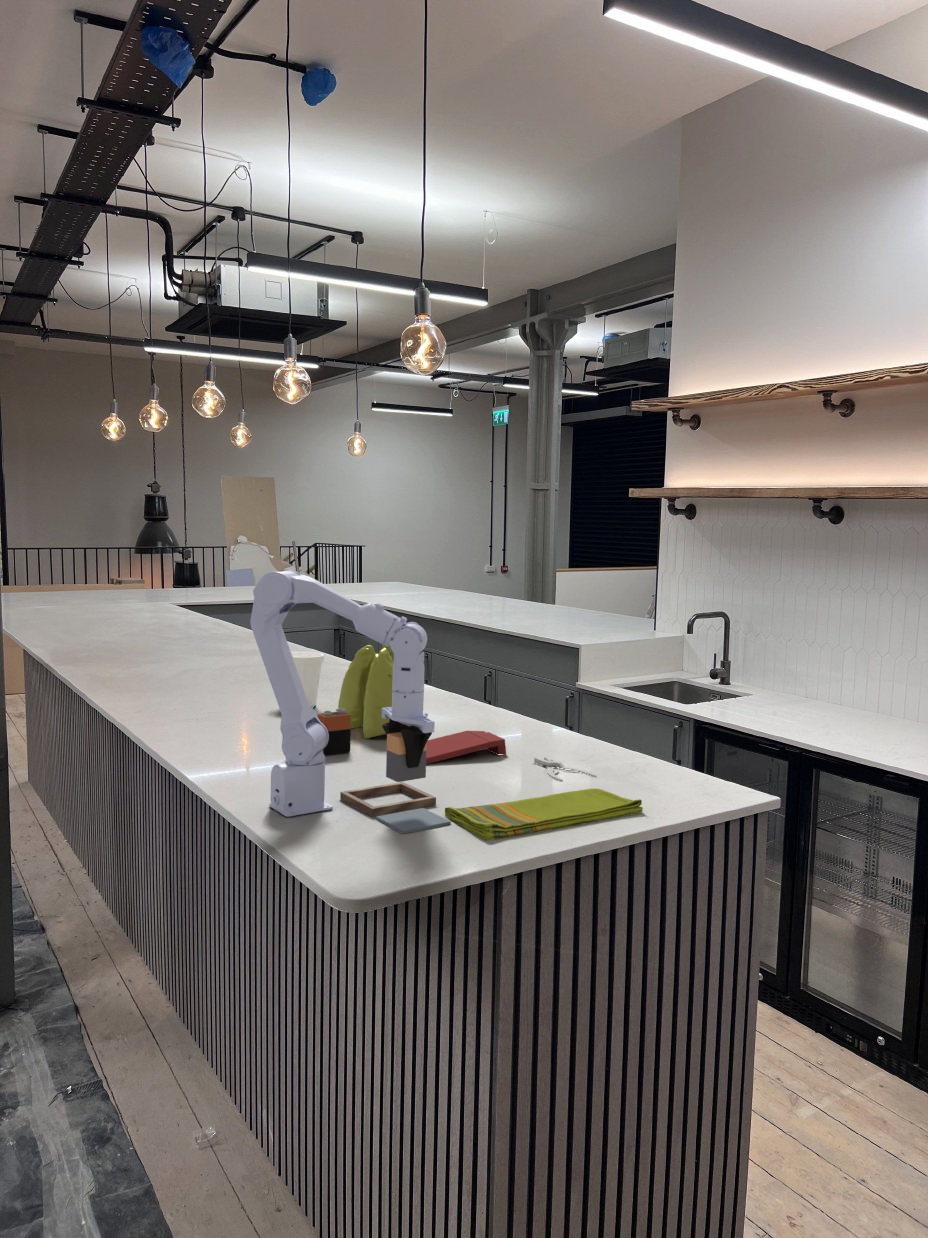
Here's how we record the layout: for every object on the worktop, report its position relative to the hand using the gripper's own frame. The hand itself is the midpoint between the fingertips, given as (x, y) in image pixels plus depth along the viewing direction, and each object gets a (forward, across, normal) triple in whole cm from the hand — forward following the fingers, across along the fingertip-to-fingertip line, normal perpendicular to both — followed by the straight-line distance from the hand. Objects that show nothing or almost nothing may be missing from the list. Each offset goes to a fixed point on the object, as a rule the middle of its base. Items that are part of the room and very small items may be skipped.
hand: (406, 764), depth 161 cm
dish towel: (+10, -13, -23) cm, 28 cm away
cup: (+10, +99, -28) cm, 103 cm away
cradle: (+9, +8, -1) cm, 12 cm away
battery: (+10, +47, -11) cm, 49 cm away
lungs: (+10, +63, -32) cm, 71 cm away
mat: (+10, -4, +1) cm, 10 cm away
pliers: (+10, +9, -46) cm, 48 cm away
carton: (+10, +32, -33) cm, 47 cm away
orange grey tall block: (+2, 0, 0) cm, 2 cm away
